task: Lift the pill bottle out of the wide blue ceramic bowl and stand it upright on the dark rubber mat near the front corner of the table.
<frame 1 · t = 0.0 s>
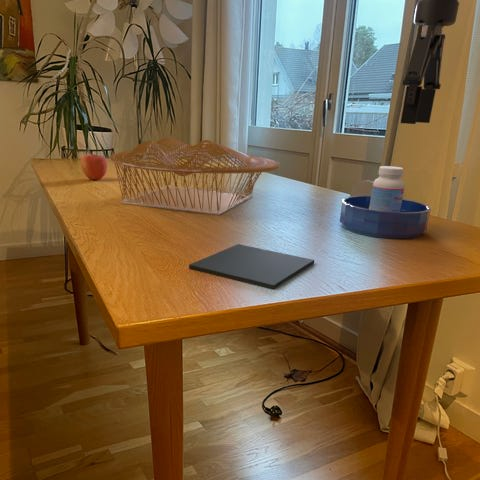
hand: (415, 123, 97), 20 cm above the table, tool pointing down, fingers open, 13 cm apart
mat: (253, 265, 72), on the table
bowl: (381, 228, 98), on the table
pill bottle: (381, 225, 98), point 1 cm above the table, touching bowl
basket: (195, 201, 116), on the table
apple: (95, 180, 137), on the table
mug: (367, 210, 115), on the table
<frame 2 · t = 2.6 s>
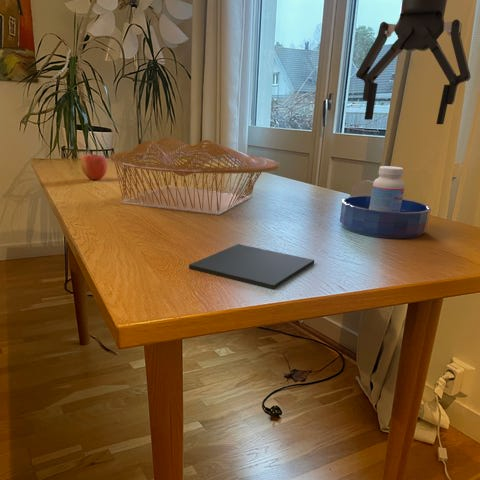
hand: (402, 122, 91), 20 cm above the table, tool pointing down, fingers open, 13 cm apart
nothing on the table moved.
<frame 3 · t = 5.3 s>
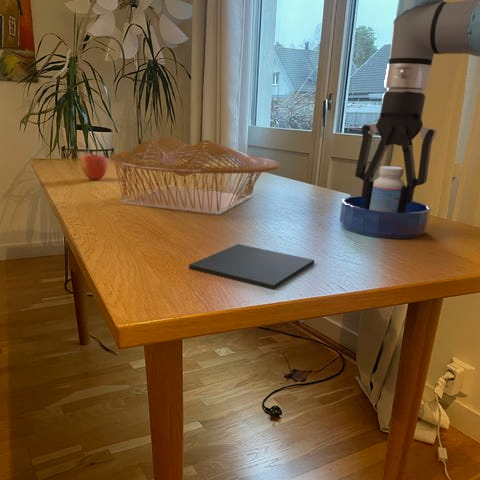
hand: (383, 216, 97), 2 cm above the table, tool pointing down, fingers closed on pill bottle, 6 cm apart
pill bottle: (381, 225, 98), point 1 cm above the table, touching bowl, gripper
everything else where it was.
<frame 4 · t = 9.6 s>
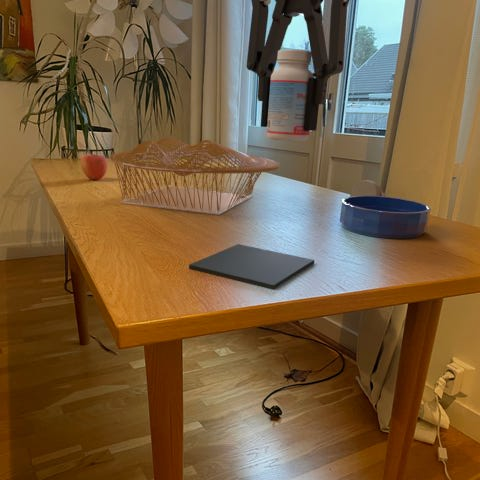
hand: (288, 128, 68), 19 cm above the table, tool pointing down, fingers closed on pill bottle, 6 cm apart
pill bottle: (287, 141, 69), point 18 cm above the table, touching gripper
everything else where it was.
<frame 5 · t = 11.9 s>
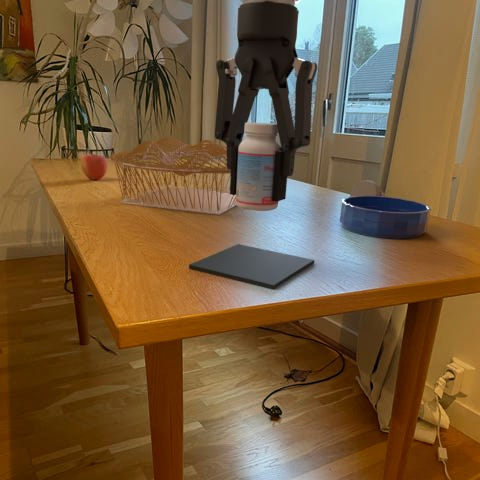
hand: (257, 196, 68), 10 cm above the table, tool pointing down, fingers closed on pill bottle, 6 cm apart
pill bottle: (256, 208, 69), point 9 cm above the table, touching gripper
everything else where it was.
when the fingers open (2 cm above the table, at t = 14.1 s): pill bottle stays where it is, resting on mat.
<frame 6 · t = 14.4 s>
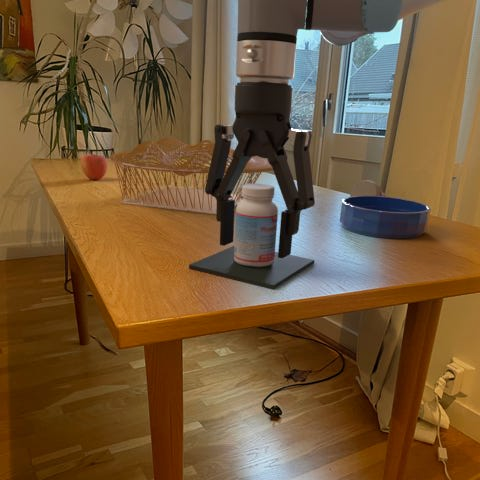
hand: (254, 249, 71), 3 cm above the table, tool pointing down, fingers open, 9 cm apart
pill bottle: (253, 263, 72), resting on mat
everything else where it was.
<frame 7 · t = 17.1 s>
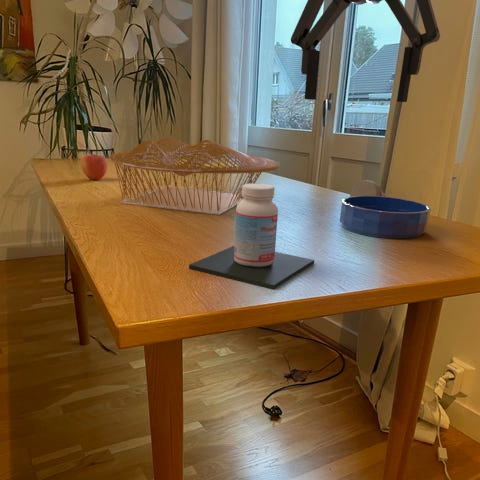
hand: (354, 101, 69), 23 cm above the table, tool pointing down, fingers open, 13 cm apart
nothing on the table moved.
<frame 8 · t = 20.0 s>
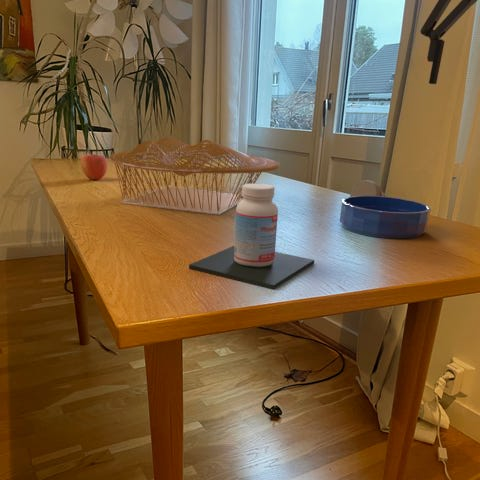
hand: (474, 85, 79), 27 cm above the table, tool pointing down, fingers open, 13 cm apart
nothing on the table moved.
at the end: pill bottle inside the target area on the mat (0.0 cm from its centre), point 0.4 cm above the mat's base; pill bottle tilted 0°; the gripper is holding nothing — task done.
